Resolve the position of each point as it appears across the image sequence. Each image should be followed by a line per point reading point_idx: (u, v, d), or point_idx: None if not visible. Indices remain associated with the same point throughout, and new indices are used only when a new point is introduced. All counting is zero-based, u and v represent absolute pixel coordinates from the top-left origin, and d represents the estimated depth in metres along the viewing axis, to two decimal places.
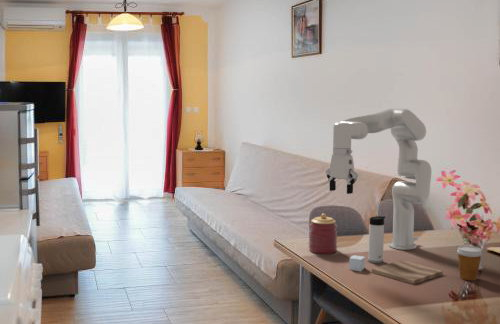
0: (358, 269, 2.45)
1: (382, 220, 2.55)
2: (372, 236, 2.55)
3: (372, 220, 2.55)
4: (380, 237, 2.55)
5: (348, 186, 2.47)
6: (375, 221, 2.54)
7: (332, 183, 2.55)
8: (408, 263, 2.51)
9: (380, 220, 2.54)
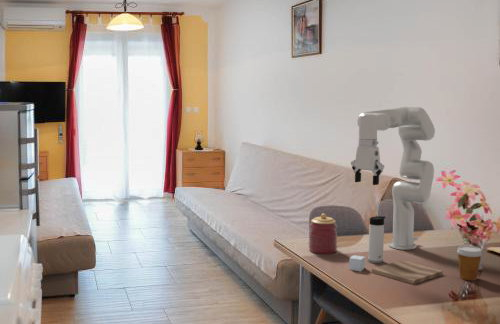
0: (358, 269, 2.45)
1: (382, 220, 2.55)
2: (372, 236, 2.55)
3: (372, 220, 2.55)
4: (380, 237, 2.55)
5: (374, 177, 2.47)
6: (375, 221, 2.54)
7: (357, 174, 2.55)
8: (408, 263, 2.51)
9: (380, 220, 2.54)
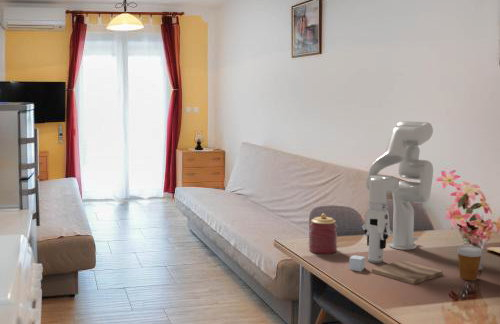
0: (358, 269, 2.45)
1: None
2: (372, 236, 2.55)
3: (372, 220, 2.55)
4: (380, 237, 2.55)
5: (381, 241, 2.54)
6: (375, 221, 2.54)
7: None
8: (408, 263, 2.51)
9: None
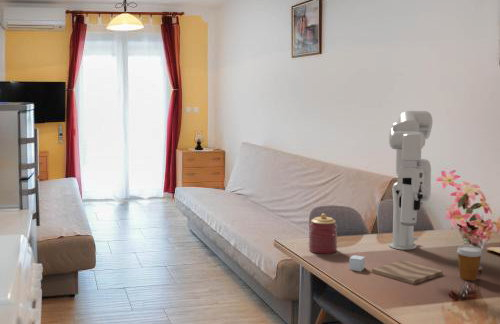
0: (358, 269, 2.45)
1: None
2: (405, 196, 2.36)
3: (405, 179, 2.35)
4: (414, 197, 2.35)
5: (415, 202, 2.35)
6: (409, 180, 2.35)
7: None
8: (408, 263, 2.51)
9: None
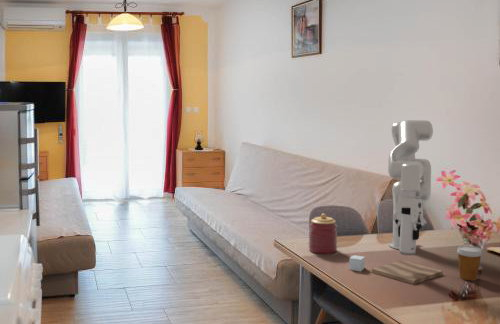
0: (358, 269, 2.45)
1: None
2: (404, 226, 2.37)
3: (404, 209, 2.37)
4: (413, 227, 2.37)
5: (414, 232, 2.36)
6: (408, 210, 2.36)
7: None
8: (408, 263, 2.51)
9: None
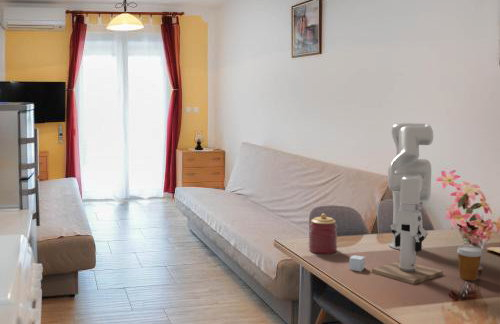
0: (358, 269, 2.45)
1: None
2: (404, 243, 2.38)
3: (404, 226, 2.38)
4: (413, 243, 2.37)
5: (417, 244, 2.36)
6: (408, 227, 2.37)
7: (398, 239, 2.43)
8: None
9: None
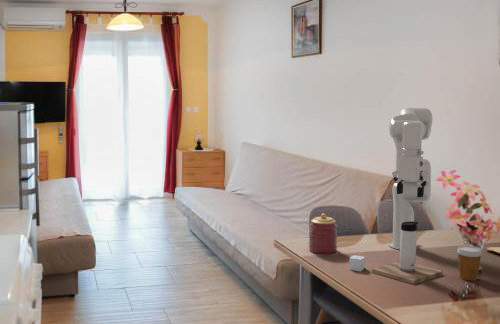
0: (358, 269, 2.45)
1: (415, 226, 2.37)
2: (404, 243, 2.38)
3: (404, 226, 2.38)
4: (413, 243, 2.37)
5: (419, 189, 2.33)
6: (408, 227, 2.37)
7: (400, 186, 2.41)
8: None
9: (413, 226, 2.37)
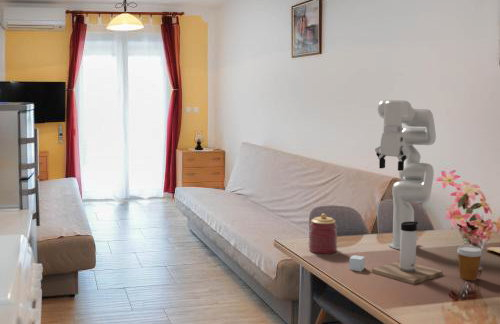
0: (358, 269, 2.45)
1: (415, 226, 2.37)
2: (404, 243, 2.38)
3: (404, 226, 2.38)
4: (413, 243, 2.38)
5: (399, 163, 2.52)
6: (407, 227, 2.37)
7: (382, 161, 2.59)
8: None
9: (413, 226, 2.37)
